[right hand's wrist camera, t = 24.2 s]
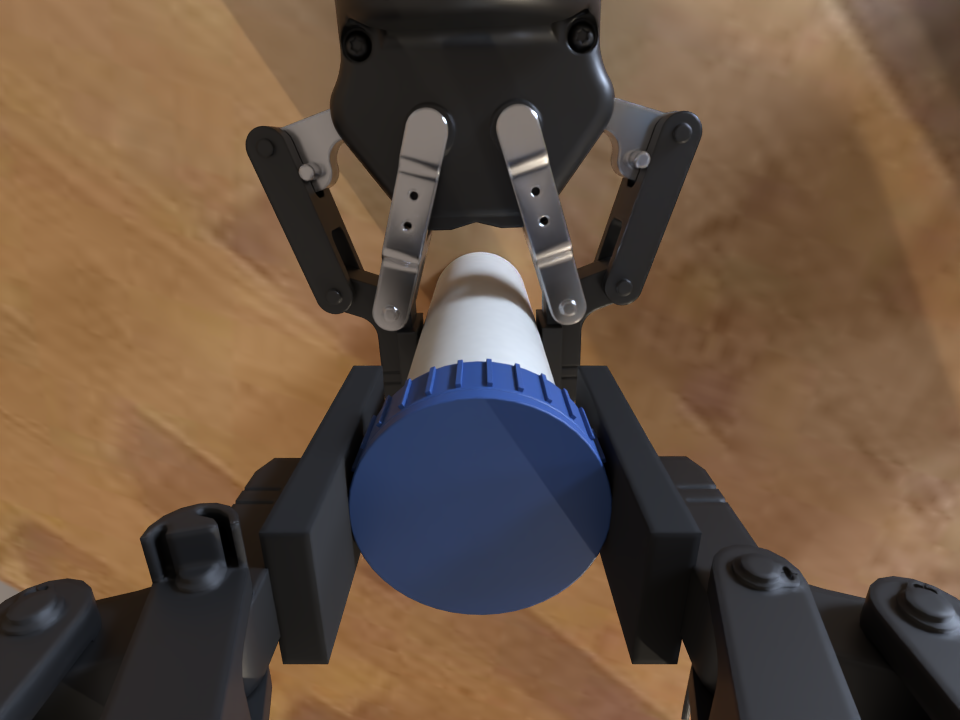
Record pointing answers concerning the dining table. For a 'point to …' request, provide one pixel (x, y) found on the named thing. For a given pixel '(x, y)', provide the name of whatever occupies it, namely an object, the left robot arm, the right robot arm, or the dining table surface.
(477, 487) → the lid
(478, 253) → the jar
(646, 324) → the dining table surface
